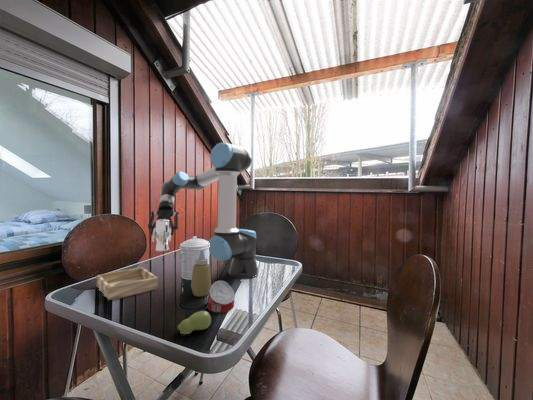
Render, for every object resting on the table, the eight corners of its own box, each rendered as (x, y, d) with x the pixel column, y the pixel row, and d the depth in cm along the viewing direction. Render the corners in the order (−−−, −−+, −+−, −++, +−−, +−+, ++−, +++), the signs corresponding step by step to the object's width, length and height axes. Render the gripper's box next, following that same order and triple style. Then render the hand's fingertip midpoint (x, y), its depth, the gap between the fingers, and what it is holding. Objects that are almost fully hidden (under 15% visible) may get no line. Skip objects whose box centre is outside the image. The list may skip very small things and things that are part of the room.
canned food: (229, 313, 97) (242, 290, 97) (225, 324, 87) (240, 298, 87) (204, 298, 97) (217, 275, 98) (197, 307, 87) (212, 282, 88)
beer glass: (163, 252, 121) (164, 221, 120) (151, 250, 122) (152, 220, 121) (172, 248, 127) (173, 219, 127) (160, 247, 129) (161, 218, 128)
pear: (212, 312, 76) (179, 327, 70) (214, 328, 76) (182, 344, 71) (205, 305, 80) (174, 318, 75) (208, 320, 81) (176, 334, 75)
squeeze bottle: (214, 293, 103) (216, 250, 102) (200, 300, 96) (201, 254, 96) (201, 288, 107) (202, 247, 107) (186, 294, 100) (187, 250, 100)
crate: (157, 289, 105) (157, 277, 105) (108, 301, 92) (108, 288, 92) (141, 277, 117) (142, 267, 117) (96, 286, 104) (96, 275, 104)
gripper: (185, 209, 141) (182, 244, 126) (148, 208, 136) (140, 244, 121) (185, 200, 136) (182, 236, 121) (146, 199, 131) (137, 236, 116)
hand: (161, 240), depth 121 cm, fingers closed on beer glass, 7 cm apart
